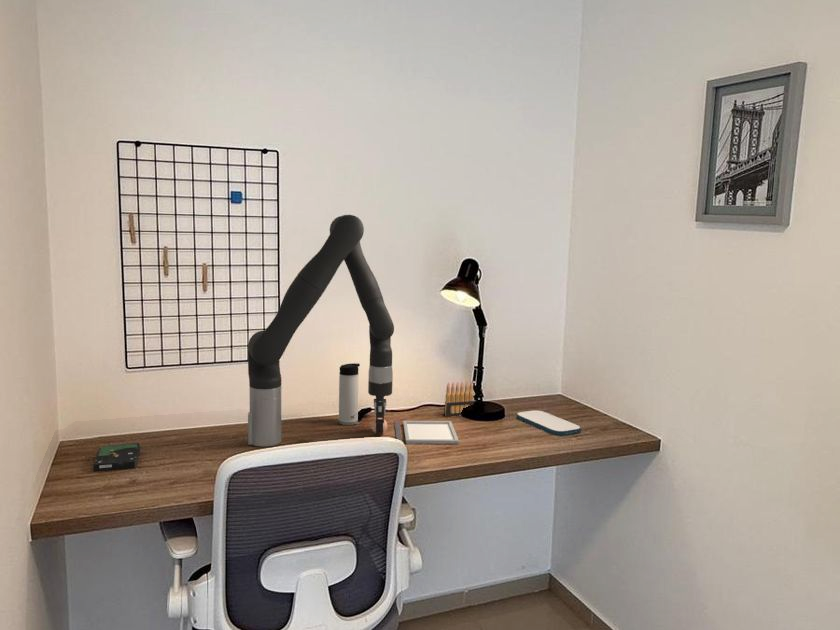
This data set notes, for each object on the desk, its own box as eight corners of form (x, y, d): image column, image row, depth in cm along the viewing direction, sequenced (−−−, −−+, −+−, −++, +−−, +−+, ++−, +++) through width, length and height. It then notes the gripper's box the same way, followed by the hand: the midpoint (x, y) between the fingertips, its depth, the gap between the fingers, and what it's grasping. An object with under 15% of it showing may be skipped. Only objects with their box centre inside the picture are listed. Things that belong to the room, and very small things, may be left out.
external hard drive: (512, 418, 233) (513, 413, 232) (538, 414, 238) (539, 409, 238) (557, 438, 212) (557, 432, 212) (584, 433, 218) (585, 427, 217)
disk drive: (137, 470, 175) (139, 451, 189) (136, 460, 175) (139, 442, 189) (93, 474, 172) (99, 454, 185) (93, 464, 171) (99, 445, 185)
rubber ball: (371, 435, 208) (371, 420, 207) (371, 431, 212) (371, 415, 212) (387, 436, 208) (387, 420, 207) (387, 431, 213) (387, 416, 212)
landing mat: (397, 445, 200) (397, 441, 200) (394, 423, 221) (394, 419, 221) (459, 445, 201) (459, 441, 201) (450, 423, 223) (450, 420, 223)
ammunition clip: (445, 417, 230) (447, 383, 229) (443, 415, 232) (444, 382, 230) (473, 415, 234) (475, 381, 232) (471, 413, 236) (472, 380, 234)
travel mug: (357, 426, 217) (358, 366, 214) (337, 425, 217) (338, 365, 215) (359, 420, 223) (360, 362, 221) (340, 419, 223) (340, 361, 221)
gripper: (368, 373, 215) (367, 424, 217) (368, 384, 200) (367, 439, 203) (391, 374, 215) (390, 425, 217) (393, 384, 201) (391, 439, 203)
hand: (379, 431), depth 210 cm, fingers closed on rubber ball, 5 cm apart
